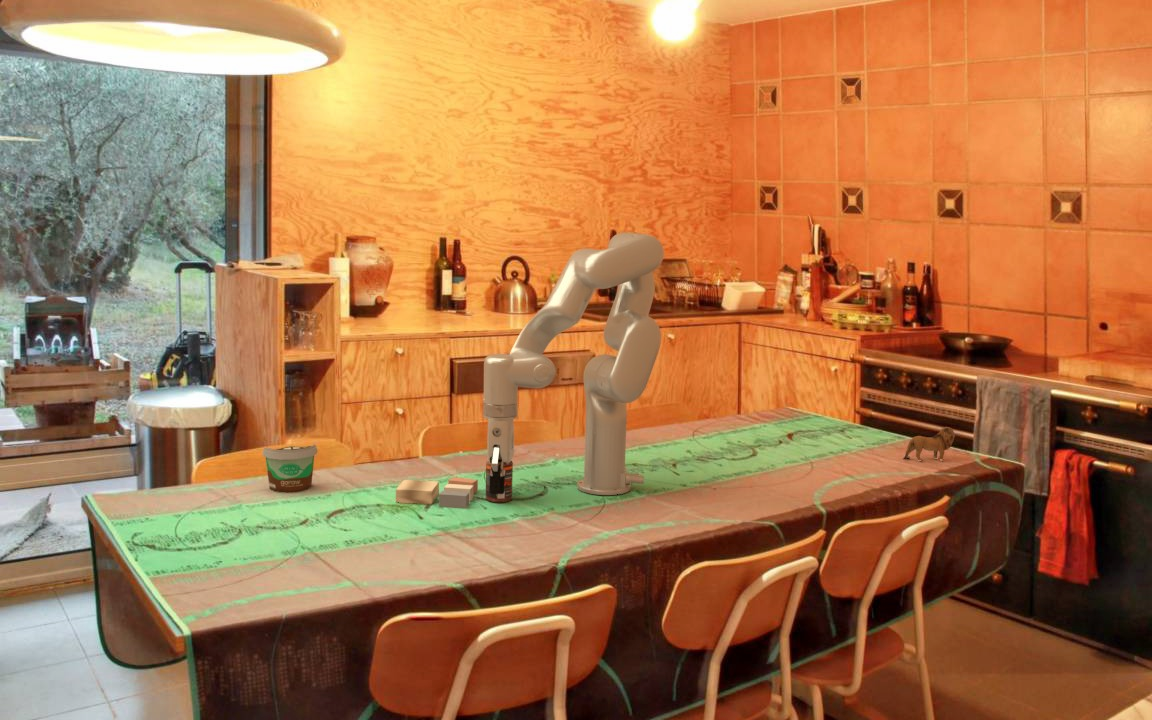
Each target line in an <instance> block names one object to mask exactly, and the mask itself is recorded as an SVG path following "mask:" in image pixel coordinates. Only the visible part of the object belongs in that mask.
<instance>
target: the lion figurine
mask: <svg viewBox="0 0 1152 720" xmlns="http://www.w3.org/2000/svg"><path fill="white" fill-rule="evenodd" d="M955 437H956V435H955V431H954V429H953V428H952V427H949V426H945V427H942V428H940V430H939V432H938V433H937V434H935V435H934V436H931V437H927V436H922V435H917V436H913V437H912V438H911V439H910V440H909V442H908V444H907V448H906V450H905V453H904V454H905V455H904V457H903V458H902V460H907V459H906V458H910V459H911V457H910V456H909V454H911V453H912V452H913V451H916V452H915V457H916V459H917V461H918V460H921V461H924V459H922V457H921V453H922V451H923V449H924V450H925V451H928V452H933V457H934V458H937V457H938V452H939V457H938V460H940V459H943V460H944V457H945V456H944V455H945V451H946V450H947V451H948V450H949V449H951V447H952V444H953V443H954V440H955ZM933 457H932V458H933Z"/></svg>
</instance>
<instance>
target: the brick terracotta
mask: <svg viewBox="0 0 1152 720" xmlns="http://www.w3.org/2000/svg"><path fill="white" fill-rule="evenodd" d="M447 482H448V483H447V484H458V485H473V495H475V494H476V493H477V492H478V490H479V489H478V488H479V486H478V485H479V480H478V479H475V478H474V479H473V478H467V477H457V476H456V477H455V476H453V477H451V478H450V479H448V481H447Z"/></svg>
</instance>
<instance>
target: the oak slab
mask: <svg viewBox="0 0 1152 720" xmlns="http://www.w3.org/2000/svg"><path fill="white" fill-rule="evenodd" d="M439 491H440V481H439V480H438V481H437V480H436V481H433V480H417V479H416V480H413V479H412V480H411V479H403V480H402V481H401V483H399V485H398V486H397V487H396V489H395V503H396V502H397V503H398V502H399V504H413V503H417V504H419V505H433V503H434V501H436V499H437V498H438V497H439V494H440V492H439ZM417 504H416V505H417Z"/></svg>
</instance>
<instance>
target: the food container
mask: <svg viewBox="0 0 1152 720" xmlns="http://www.w3.org/2000/svg"><path fill="white" fill-rule="evenodd" d="M317 454H319V453H318V447H317V445H316V443H315V441H314V442H313V445H309V446H292V445H291V446H286V447H285V446H284V447H281V448H276V449H275V448H269V447H267V446H264V448H263V450H262V454H261V455H262V457H264V458H265V462H266V472H267V479H268V485H269V486H268V487H269V489H270V490H271V491H273V492H277V493H284V494H285V493H286V494H290V493H300V492H305V491H307V490H310V489H311V488H312V484H313V475H314V474H313V473H314V463H315V455H317Z"/></svg>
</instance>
